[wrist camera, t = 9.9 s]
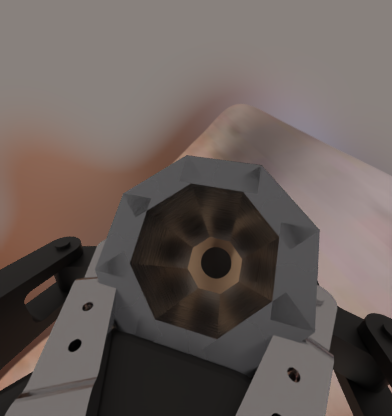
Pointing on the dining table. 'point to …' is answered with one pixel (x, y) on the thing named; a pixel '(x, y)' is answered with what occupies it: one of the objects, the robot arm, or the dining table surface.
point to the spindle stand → (215, 265)
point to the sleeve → (181, 252)
